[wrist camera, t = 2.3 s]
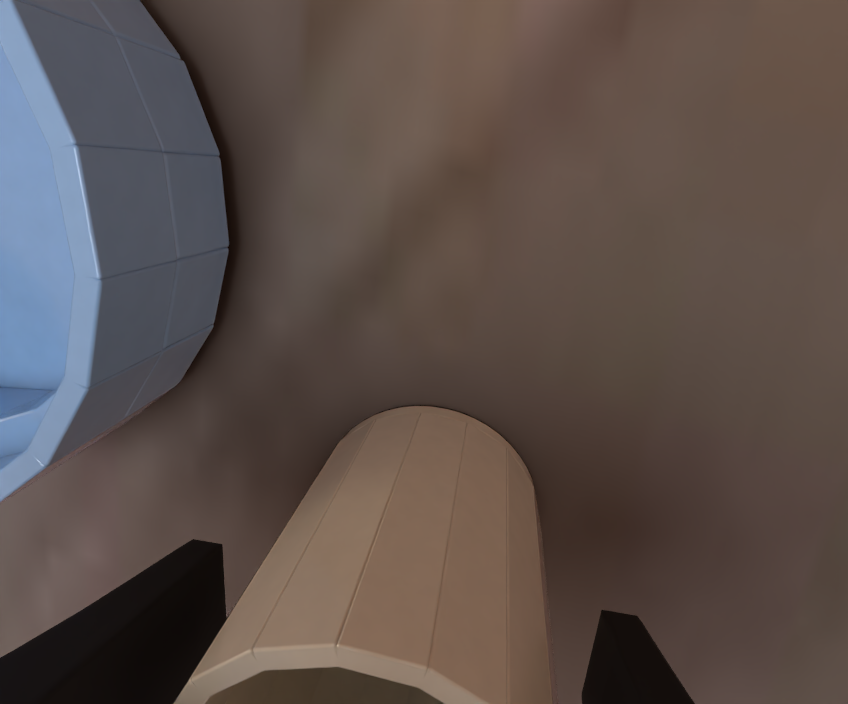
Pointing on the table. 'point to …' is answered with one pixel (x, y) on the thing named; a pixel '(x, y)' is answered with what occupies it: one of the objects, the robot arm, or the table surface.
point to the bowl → (98, 226)
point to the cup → (396, 579)
